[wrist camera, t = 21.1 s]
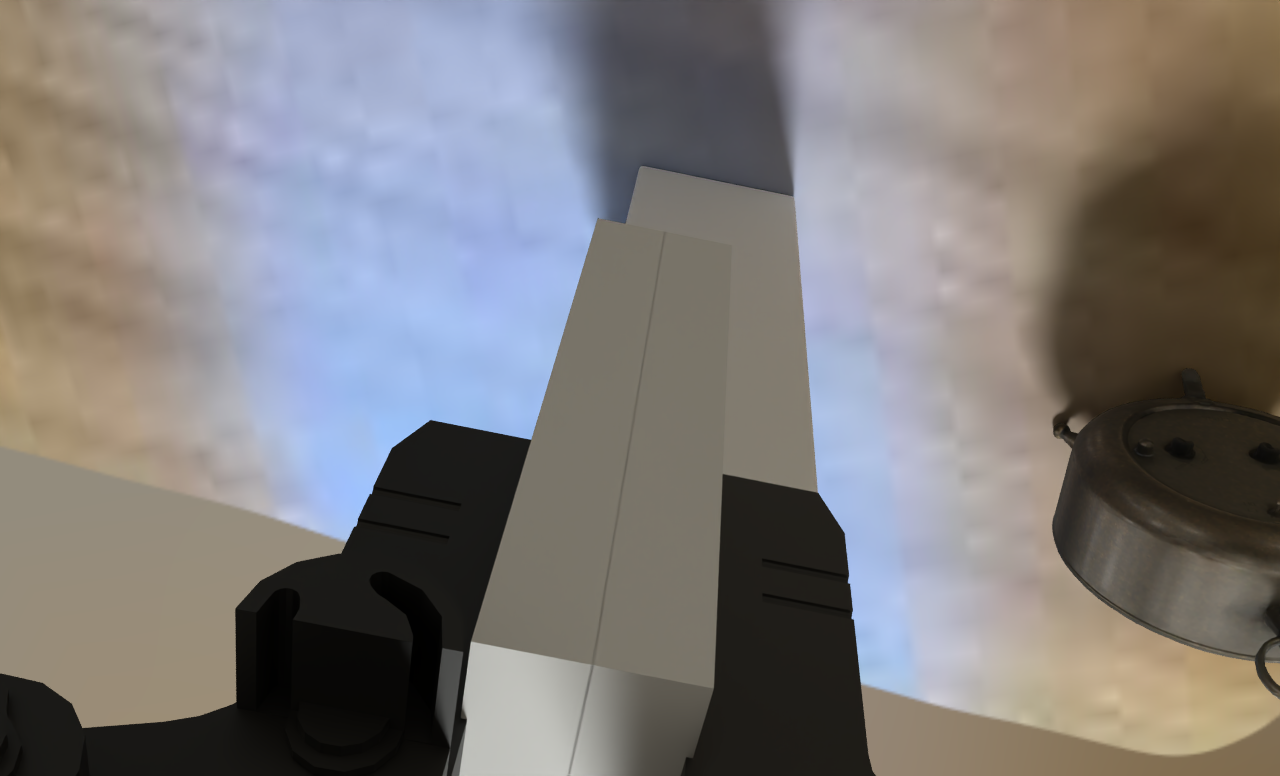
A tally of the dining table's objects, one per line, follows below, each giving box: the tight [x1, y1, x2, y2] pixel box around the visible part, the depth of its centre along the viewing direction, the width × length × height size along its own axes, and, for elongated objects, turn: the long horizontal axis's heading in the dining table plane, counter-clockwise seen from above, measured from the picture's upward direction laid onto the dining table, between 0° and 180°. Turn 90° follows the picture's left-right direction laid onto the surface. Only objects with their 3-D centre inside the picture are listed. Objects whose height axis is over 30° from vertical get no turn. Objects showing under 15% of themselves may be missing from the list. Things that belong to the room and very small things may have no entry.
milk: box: [626, 166, 818, 493], centre depth 35 cm, size 6×6×22 cm
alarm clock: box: [1052, 368, 1280, 699], centre depth 40 cm, size 11×5×16 cm, turn 88°
